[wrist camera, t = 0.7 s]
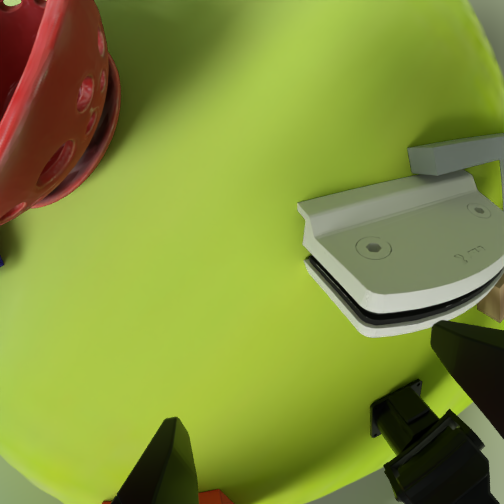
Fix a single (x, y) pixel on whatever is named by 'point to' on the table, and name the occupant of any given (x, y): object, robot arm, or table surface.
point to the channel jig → (457, 155)
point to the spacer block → (494, 302)
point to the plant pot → (52, 100)
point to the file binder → (207, 498)
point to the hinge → (405, 250)
